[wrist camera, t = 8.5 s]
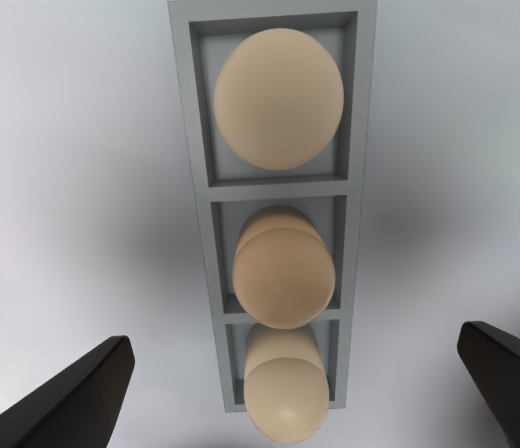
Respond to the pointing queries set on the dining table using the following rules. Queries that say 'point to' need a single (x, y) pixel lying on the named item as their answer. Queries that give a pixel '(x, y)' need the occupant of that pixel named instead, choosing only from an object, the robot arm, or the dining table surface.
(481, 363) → the robot arm
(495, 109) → the dining table surface
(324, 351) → the carton
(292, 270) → the egg
